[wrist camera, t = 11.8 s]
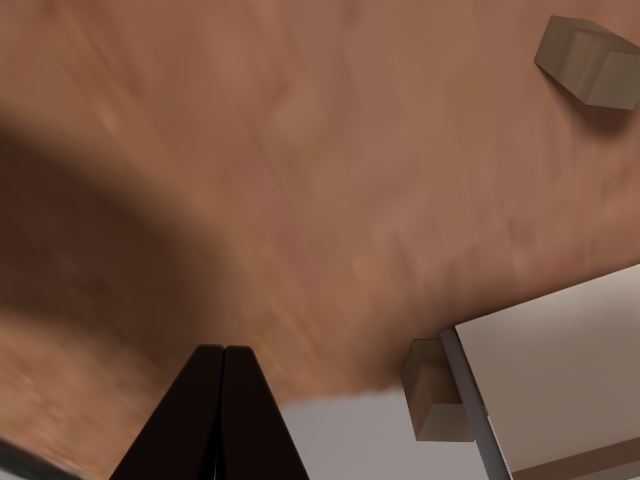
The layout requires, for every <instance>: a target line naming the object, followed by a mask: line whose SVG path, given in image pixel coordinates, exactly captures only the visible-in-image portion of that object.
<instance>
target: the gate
mask: <svg viewBox="0 0 640 480" xmlns="http://www.w3.org/2000/svg"><path fill="white" fill-rule="evenodd" d="M455 328H456V330H457V333H458V335H459V338H460V341H461V343H462V346H463V348H464V351H465V354H466V356H467V359H468V362H469V364H470V367H471V369H472V372H473V375H474V377H475V380H476V383H477V385H478V388H479V390H480V393H481V396H482V398H483V401H484V403H485V406H486V409H487V411H488V414H489V416H490V419H491V422H492V424H493V427H494V430H495V432H496V435H497V437H498V440H499V443H500V445H501V448H502V450H503V453H504V455H505V458H506V461H507V464H508V466H509V469H510V471H511V474H512V477H513V479H514V480H627V479H631V478H635V477H638V476H640V264H638V265H635V266H632V267H629V268H626V269H623V270H620V271H617V272H614V273H611V274H608V275H605V276H602V277H599V278H596V279H593V280H590V281H587V282H584V283H581V284H578V285H575V286H572V287H569V288H566V289H563V290H560V291H557V292H554V293H551V294H548V295H545V296H543V297H540V298H537V299H534V300H531V301H528V302H525V303H522V304H519V305H516V306H513V307H510V308H507V309H504V310H501V311H498V312H495V313H492V314H489V315H486V316H483V317H480V318H477V319H474V320H471V321H468V322H465V323H462V324H459V325H456V326H455ZM440 338H441V341H442V344H443V347H444V350H445V353H446V356H447V358H448V361H449V364H450V367H451V370H452V373H453V376H454V379H455V382H456V385H457V388H458V390H459V393H460V396H461V399H462V402H463V405H464V408H465V411H466V414H467V417H468V420H469V423H470V425H471V428H472V431H473V434H474V437H475V440H476V443H477V446H478V449H479V452H480V455H481V457H482V460H483V463H484V466H485V469H486V472H487V474H488V478H489V480H511V479H510V476H509V474H508V471H507V468H506V465H505V463H504V461H503V458H502V455H501V452H500V450H499V447H498V444H497V442H496V439H495V436H494V434H493V431H492V428H491V426H490V423H489V421H488V418H487V415H486V413H485V410H484V407H483V405H482V402H481V399H480V397H479V394H478V391H477V389H476V386H475V383H474V381H473V378H472V375H471V373H470V370H469V367H468V365H467V362H466V360H465V357H464V354H463V352H462V349H461V346H460V344H459V341H458V338H457V336H456V333H455V331H454V330H453V329H444V330H443V331H441V333H440Z"/></svg>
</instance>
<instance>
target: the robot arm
mask: <svg viewBox="0 0 640 480" xmlns="http://www.w3.org/2000/svg"><path fill="white" fill-rule="evenodd" d="M224 353H225V355H224ZM216 455H217V457H216ZM215 467H216V473H215ZM214 476H215V480H310V479H309V477H308V475H307V472H306V470H305V468H304V465H303V463H302V461H301V459H300V456H299V454H298V452H297V449H296V447H295V445H294V443H293V440H292V438H291V436H290V433H289V431H288V429H287V427H286V425H285V422H284V420H283V418H282V415H281V413H280V411H279V408H278V406H277V404H276V402H275V399H274V397H273V395H272V392H271V390H270V388H269V386H268V383H267V381H266V379H265V376H264V374H263V372H262V370H261V367H260V365H259V363H258V361H257V358H256V356H255V354H254V351H253V350H252V348H251V347H249V346H238V345H228V346H227V347H226V348H224V346H222V345H216V344H200V345H198V346H197V348H196V349H195V350H194V352H193V353H192V355H191V356H190V358H189V359H188V361H187V362H186V364H185V365H184V367H183V368H182V370H181V371H180V373H179V374H178V376H177V377H176V379H175V380H174V382H173V383H172V385H171V386H170V388H169V389H168V391H167V392H166V394H165V395H164V397H163V398H162V400H161V401H160V403H159V404H158V406H157V407H156V409H155V410H154V412H153V413H152V415H151V416H150V418H149V419H148V421H147V422H146V424H145V425H144V427H143V428H142V430H141V431H140V433H139V434H138V436H137V438H136V439H135V441H134V442H133V444H132V445H131V447H130V448H129V450H128V451H127V453H126V454H125V456H124V457H123V459H122V460H121V462H120V463H119V465H118V466H117V468H116V469H115V471H114V472H113V474H112V475H111V477H110V478H109V480H214Z"/></svg>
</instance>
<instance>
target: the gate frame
mask: <svg viewBox="0 0 640 480" xmlns="http://www.w3.org/2000/svg"><path fill="white" fill-rule="evenodd" d="M534 62H535V63H537V64H538V65H539V66H540V67H541V68H543V69H544V70H545V71H546V72H547V73H549V74H550V75H551V76H552V77H553V78H555V79H556V80H557V81H558V82H559V83H561V84H562V85H563V86H564V87H565V88H567V89H568V90H569V91H570V92H571V93H573V94H574V95H575V96H576V97H577V98H579V99H580V100H581V101H582V102H583V103H585V104H587V105H595V106H603V107H611V108H619V109H627V110H633V109H634V107H635V105H636V103H637V101H638V100H639V98H640V47H638V46H636V45H634V44H633V43H631V42H629V41H627V40H625V39H624V38H622V37H620V36H618V35H616V34H615V33H613V32H611V31H609V30H608V29H606V28H604V27H602V26H600V25H599V24H597V23H595V22H592V21H586V20H579V19H572V18H566V17H559V16H552V15H551V18H550V20H549V23H548V26H547V28H546V31H545V33H544V36H543V39H542V41H541V44H540V46H539V49H538V52H537V54H536V57H535V59H534ZM459 344H460V346H461V349H462V352H463V354H464V357H465V360H466V362H467V365H468V367H469V370H470V373H471V375H472V378H473V381H474V383H475V386H476V389H477V391H478V394H479V397H480V399H481V402H482V405H483V407H484V410H485V413H486V415H487V416H488V415H489V414H488V411H487V409H486V406H485V403H484V401H483V398H482V396H481V393H480V390H479V388H478V385H477V383H476V380H475V377H474V375H473V372H472V369H471V367H470V364H469V362H468V359H467V356H466V354H465V351H464V348H463V346H462V343H461V341H459ZM401 380H402V384H403V388H404V392H405V396H406V400H407V404H408V408H409V412H410V416H411V421H412V425H413V429H414V433H415V437H416V441H448V442H474V440H475V437H474V434H473V431H472V428H471V425H470V423H469V420H468V417H467V414H466V411H465V408H464V405H463V402H462V399H461V396H460V393H459V390H458V388H457V385H456V382H455V379H454V376H453V373H452V370H451V367H450V364H449V361H448V358H447V356H446V353H445V350H444V347H443V344H442V341H441V340H424V339H414V341H413V344H412V347H411V349H410V352H409V355H408V358H407V360H406V363H405V366H404V369H403V371H402V374H401Z"/></svg>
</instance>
